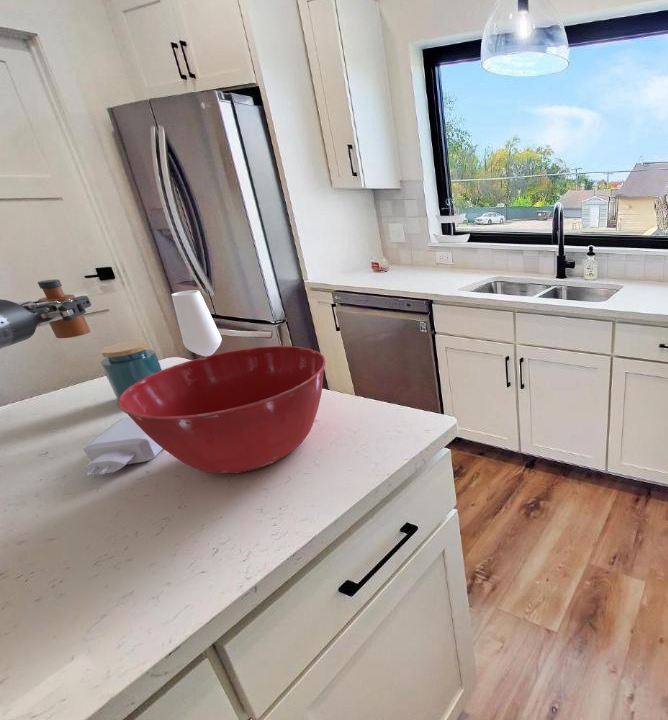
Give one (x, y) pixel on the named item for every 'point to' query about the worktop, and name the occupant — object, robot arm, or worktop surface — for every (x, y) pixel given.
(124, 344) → the teal jar
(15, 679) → the worktop surface
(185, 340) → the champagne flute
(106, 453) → the charger
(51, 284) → the amber bottle
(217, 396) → the mixing bowl
